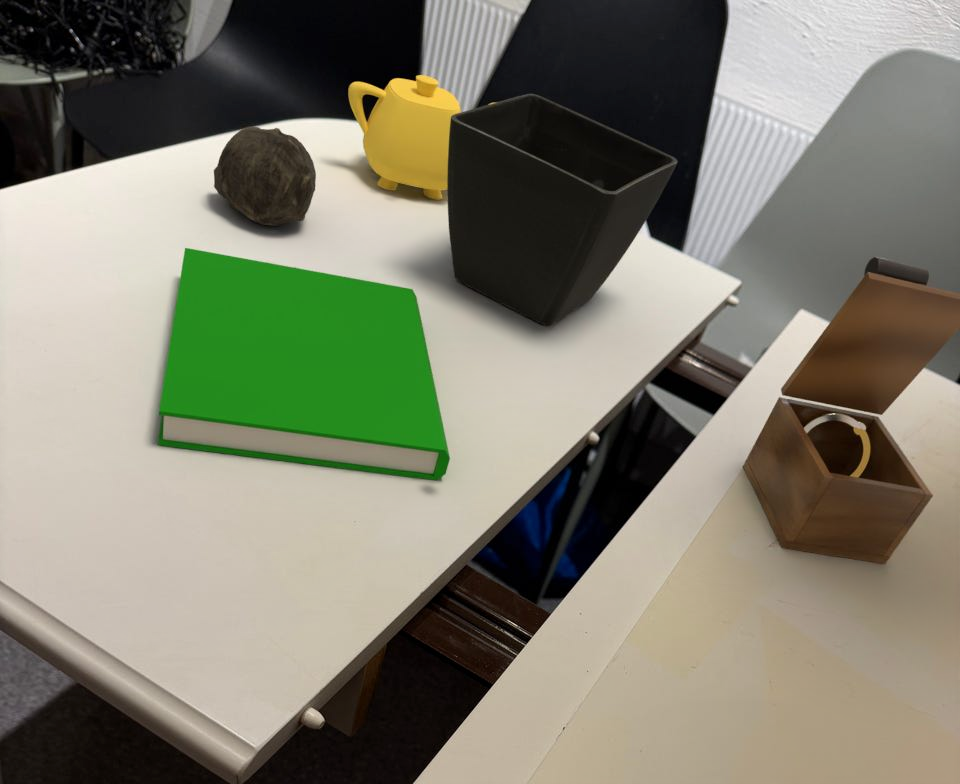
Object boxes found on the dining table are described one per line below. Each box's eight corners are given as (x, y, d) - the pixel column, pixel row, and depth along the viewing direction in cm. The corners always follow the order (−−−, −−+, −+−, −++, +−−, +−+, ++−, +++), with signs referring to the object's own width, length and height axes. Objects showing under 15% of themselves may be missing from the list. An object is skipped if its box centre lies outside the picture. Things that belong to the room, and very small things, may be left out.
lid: (981, 304, 80) (963, 259, 83) (869, 278, 78) (855, 232, 81) (881, 415, 91) (869, 372, 94) (781, 395, 89) (771, 351, 92)
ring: (835, 394, 90) (766, 452, 93) (844, 397, 87) (772, 457, 90) (880, 450, 92) (811, 506, 94) (891, 454, 89) (819, 512, 91)
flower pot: (559, 351, 103) (614, 190, 91) (412, 275, 106) (447, 112, 95) (626, 304, 116) (681, 159, 105) (493, 238, 120) (532, 92, 109)
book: (157, 444, 74) (159, 411, 72) (183, 278, 93) (185, 247, 91) (443, 481, 80) (452, 450, 78) (411, 317, 99) (417, 290, 97)
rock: (228, 175, 111) (244, 88, 104) (319, 220, 112) (341, 137, 105) (190, 211, 104) (204, 121, 97) (287, 258, 106) (308, 173, 98)
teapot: (494, 218, 125) (521, 116, 117) (340, 187, 119) (356, 77, 111) (478, 178, 134) (502, 81, 126) (334, 148, 129) (349, 43, 120)
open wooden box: (885, 564, 88) (933, 495, 83) (782, 547, 86) (824, 476, 81) (837, 482, 97) (878, 416, 92) (742, 465, 95) (778, 396, 90)
